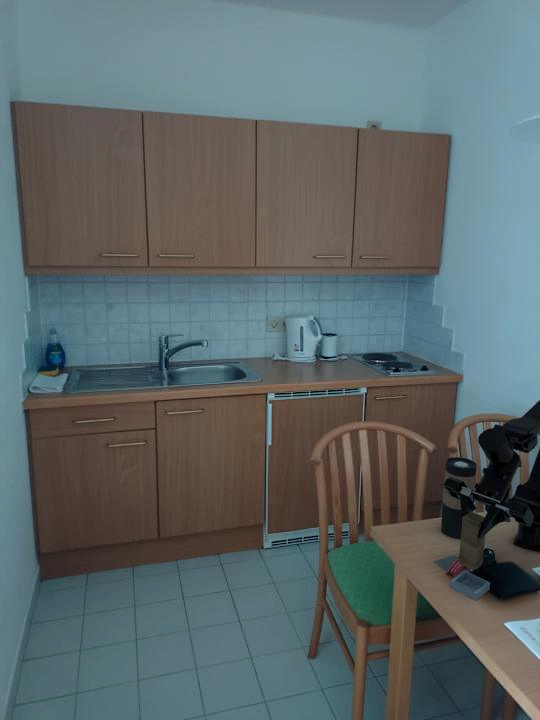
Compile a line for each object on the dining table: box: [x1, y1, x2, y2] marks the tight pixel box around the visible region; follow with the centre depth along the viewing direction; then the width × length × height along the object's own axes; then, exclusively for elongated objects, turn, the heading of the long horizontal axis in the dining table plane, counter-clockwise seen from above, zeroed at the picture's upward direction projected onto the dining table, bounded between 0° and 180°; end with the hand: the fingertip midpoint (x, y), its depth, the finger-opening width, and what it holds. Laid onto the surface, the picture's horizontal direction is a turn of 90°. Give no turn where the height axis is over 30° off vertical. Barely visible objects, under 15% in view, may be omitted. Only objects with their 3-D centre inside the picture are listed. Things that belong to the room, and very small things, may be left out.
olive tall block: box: [458, 511, 486, 570], centre depth 114 cm, size 4×4×11 cm
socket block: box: [449, 570, 491, 602], centre depth 115 cm, size 6×6×2 cm
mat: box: [432, 554, 471, 578], centre depth 124 cm, size 7×7×1 cm
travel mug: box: [440, 456, 478, 540], centre depth 137 cm, size 8×8×20 cm
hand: (470, 534), depth 113 cm, fingers closed on olive tall block, 4 cm apart
